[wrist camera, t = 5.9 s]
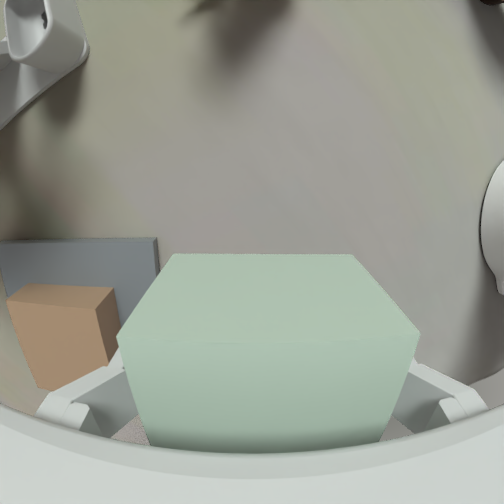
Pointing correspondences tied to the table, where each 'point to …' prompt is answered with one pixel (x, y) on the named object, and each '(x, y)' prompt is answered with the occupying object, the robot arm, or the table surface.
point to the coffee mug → (492, 2)
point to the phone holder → (37, 50)
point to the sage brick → (265, 353)
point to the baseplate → (83, 265)
